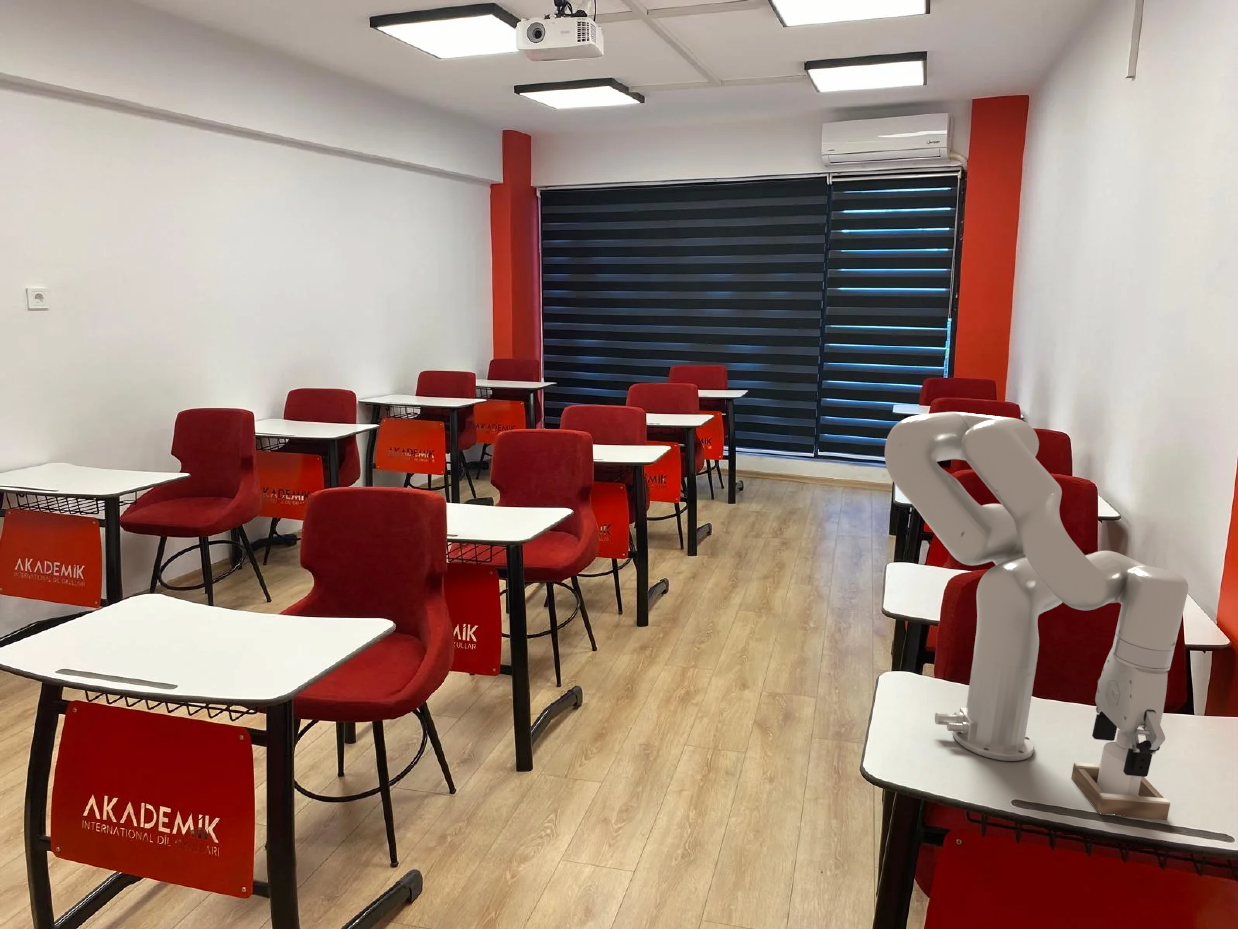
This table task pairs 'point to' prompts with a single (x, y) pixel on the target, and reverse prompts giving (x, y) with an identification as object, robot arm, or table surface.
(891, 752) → the table surface
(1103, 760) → the eye dropper bottle
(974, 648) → the robot arm
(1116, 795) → the walnut collar
